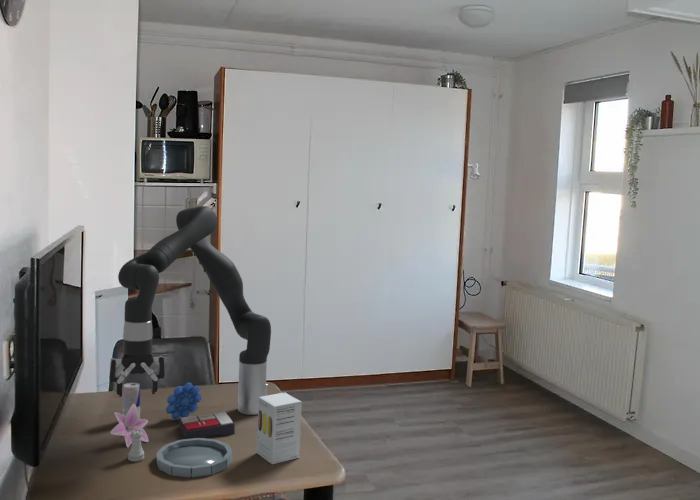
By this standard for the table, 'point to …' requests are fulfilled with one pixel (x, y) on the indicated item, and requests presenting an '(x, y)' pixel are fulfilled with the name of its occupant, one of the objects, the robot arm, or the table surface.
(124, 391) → the energy drink
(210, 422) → the calculator
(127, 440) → the lily
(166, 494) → the table surface
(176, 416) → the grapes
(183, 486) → the table surface
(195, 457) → the round tray
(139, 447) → the rook chess piece
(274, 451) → the supplement box
